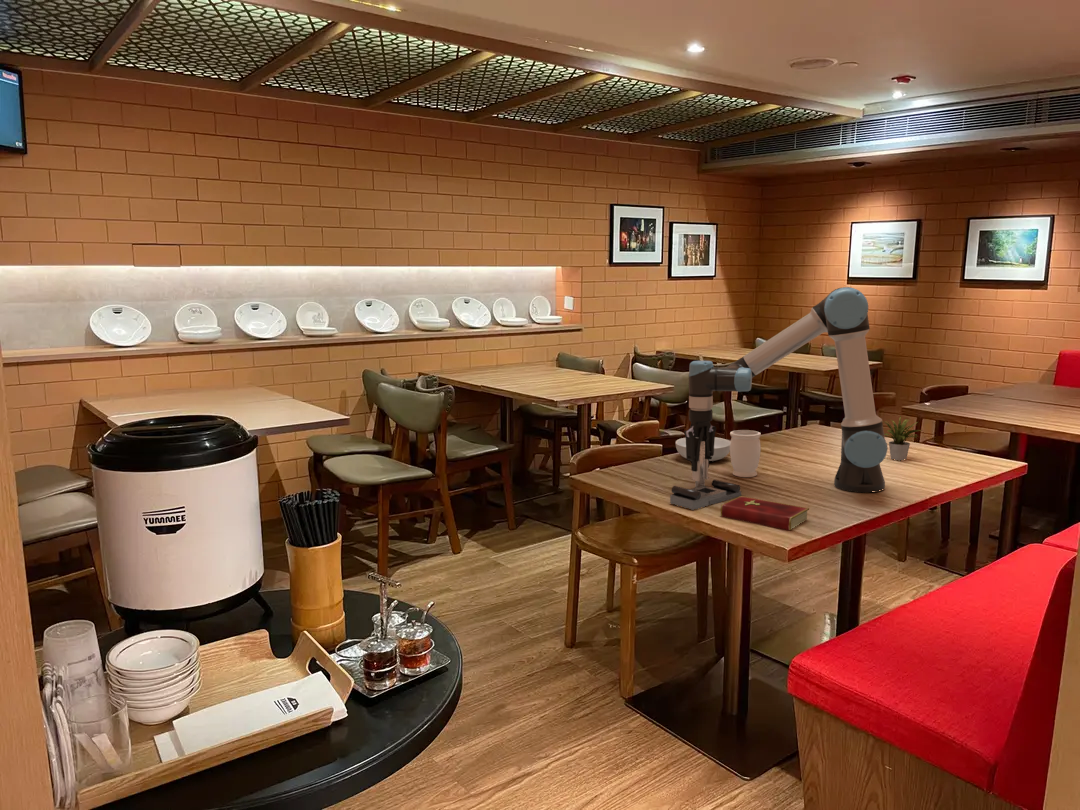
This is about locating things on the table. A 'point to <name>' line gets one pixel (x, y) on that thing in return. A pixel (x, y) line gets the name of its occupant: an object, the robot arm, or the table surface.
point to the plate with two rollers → (704, 494)
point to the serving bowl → (719, 448)
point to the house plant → (900, 440)
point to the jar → (745, 452)
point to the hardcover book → (764, 512)
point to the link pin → (701, 465)
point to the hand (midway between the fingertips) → (700, 479)
